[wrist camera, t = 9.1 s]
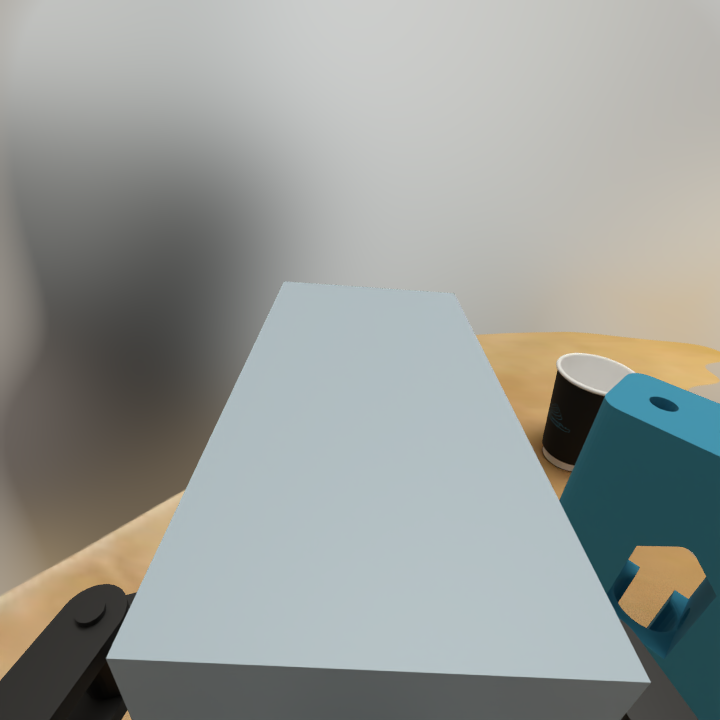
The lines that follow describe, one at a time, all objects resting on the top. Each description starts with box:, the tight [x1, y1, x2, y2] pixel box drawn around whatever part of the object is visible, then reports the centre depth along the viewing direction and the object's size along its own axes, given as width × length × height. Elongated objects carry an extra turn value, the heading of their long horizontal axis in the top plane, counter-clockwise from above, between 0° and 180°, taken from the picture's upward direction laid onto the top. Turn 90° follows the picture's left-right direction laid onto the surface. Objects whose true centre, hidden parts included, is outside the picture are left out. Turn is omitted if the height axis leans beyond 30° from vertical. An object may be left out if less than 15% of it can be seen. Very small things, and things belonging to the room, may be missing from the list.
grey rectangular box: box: [106, 282, 651, 720], centre depth 11 cm, size 5×10×13 cm, turn 0°
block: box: [559, 373, 720, 720], centre depth 24 cm, size 12×5×20 cm, turn 43°
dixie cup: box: [542, 353, 635, 471], centre depth 45 cm, size 8×8×11 cm
